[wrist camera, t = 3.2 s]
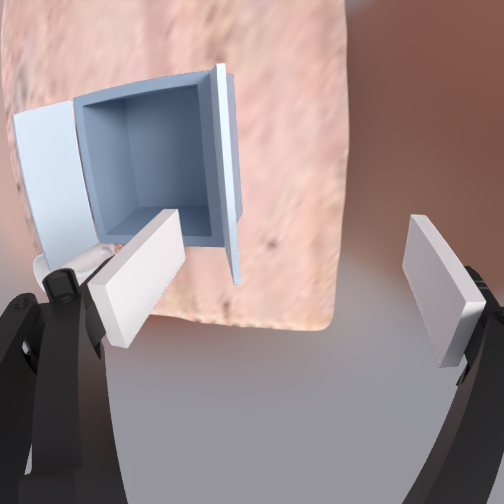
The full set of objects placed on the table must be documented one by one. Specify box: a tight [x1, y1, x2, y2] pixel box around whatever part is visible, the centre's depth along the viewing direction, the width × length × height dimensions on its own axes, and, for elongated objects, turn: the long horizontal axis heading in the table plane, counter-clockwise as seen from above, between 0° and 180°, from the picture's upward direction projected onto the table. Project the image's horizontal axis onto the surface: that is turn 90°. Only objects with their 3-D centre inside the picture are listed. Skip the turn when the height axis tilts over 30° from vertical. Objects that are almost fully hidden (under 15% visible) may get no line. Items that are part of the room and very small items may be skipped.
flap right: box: [210, 63, 241, 285], centre depth 27 cm, size 7×18×1 cm
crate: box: [73, 70, 242, 247], centre depth 36 cm, size 16×18×10 cm
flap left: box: [12, 100, 98, 270], centre depth 30 cm, size 7×18×1 cm
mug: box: [33, 219, 115, 293], centre depth 44 cm, size 12×8×12 cm
